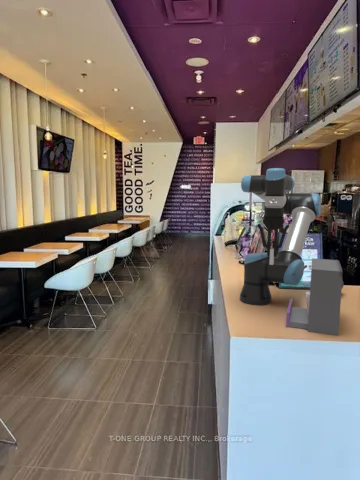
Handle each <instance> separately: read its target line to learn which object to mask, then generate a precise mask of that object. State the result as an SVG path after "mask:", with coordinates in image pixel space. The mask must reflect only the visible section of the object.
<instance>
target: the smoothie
mask: <svg viewBox="0 0 360 480" xmlns="http://www.w3.org/2000/svg"><path fill="white" fill-rule="evenodd" d="M304 295H305V296H306V297H305V298H306V309H307V312H308V317H309V301H310V290H309V291H305V294H304Z"/></svg>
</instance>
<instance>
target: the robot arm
mask: <svg viewBox="0 0 360 480" xmlns="http://www.w3.org/2000/svg"><path fill="white" fill-rule="evenodd" d="M295 185H296V183H295V179H294V178H293V177H292V176H291V175H288V174H286V169H285V168H281V167H274V168H273V167H272V168H268V169H266V172H265V175H264V174H259V175H258V174H257V175H256V174H255V175H254V174H253V175H252V174H249V175H244V176H243V177H242V178H241V182H240V186H241V187H240V188H241V190H242V192H244V193H248V194H249V193H252V194H253V195H255V196H257V197H258V198H260V199H262V200H263V201H264V207H265V208H264V212H263V213H264V215H263V219H262V221H261V222H260V223H257V225H256V226H257V228H258V229H259V233H260V238H261V242H262V246H263V248H266V249H267V250H266V251H267V252H265V251H264V252H252V253H248V254H246V255H245V257H244V265H243V266H244V267H243V268H244V270H243V274H244V275H243V285H242V288H241V291H240V293H239V300H240V302H242V303H244V304H248V305H255V306H256V305H258V306H262V305H263V306H264V305H268V304H271V303H272V293H271V290H270V286H269V285H270V284H269V282H271V283H276V284H277V283H279V284H284V285H293V286H295V285H297V284H299V283H300V282H301V280H302V279H303V276H304V272H305V261H304V260H303V257H302V256H301V255H302V251H303V248H304V245H305V241H306V238H307V234H308V231H309V227H310V224H311V223H312V222H314V221H315V219H316V217H320V216H321V214H322V201H321V196H320V194H319V193H317V192H316V193H313V192H310V193H309V192H307V193H306V192H305V193H304V192H300V193H299V192H296V193H295V192H293V193H292V192H291V191H292V190H293V189H294V188H295ZM284 215H287V216H292V221H291V223H290V224H288V223H286V221H285V220H284ZM264 226H265V228H266V229H267V240H266V235H265V230H264ZM281 227H282V228H283V231H282V233H281V236H280V239H279V230H280V229H281ZM273 231H274V232H273ZM287 231H288V232H287ZM272 233H274V235H273V248H272ZM286 233H287V235H286ZM284 240H285V241H284ZM278 242H279V243H278ZM281 248H282V249H281ZM278 249H281V250H279V251H278Z"/></svg>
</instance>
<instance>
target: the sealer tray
mask: <svg viewBox="0 0 360 480" xmlns="http://www.w3.org/2000/svg"><path fill="white" fill-rule="evenodd" d="M285 318H286V320H285V321H286V323H285V327H287V328H288V327H290V328H292V327H293V328H297V329H306V330H308V318H309V317H308V312H307V307H298V306H297V307H296V306H293V298H289V302H288V307H287V310H286V317H285Z"/></svg>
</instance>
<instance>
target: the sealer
mask: <svg viewBox="0 0 360 480" xmlns="http://www.w3.org/2000/svg"><path fill="white" fill-rule="evenodd" d="M343 274H344V271H343V268H342V266H341V262H340V260H338V259H329V258H327V259H325V258H311V270H310V286H309V287H310V288H309V291H310V301H309V318H308V329H307V332H310V333H316V334H324V335H330V336H331V335H332V336H339V330H340V329H339V328H340V316H341V315H340V313H341V303H342V302H341V300H342V290H343V288H342V280H343V276H344V275H343Z"/></svg>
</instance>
